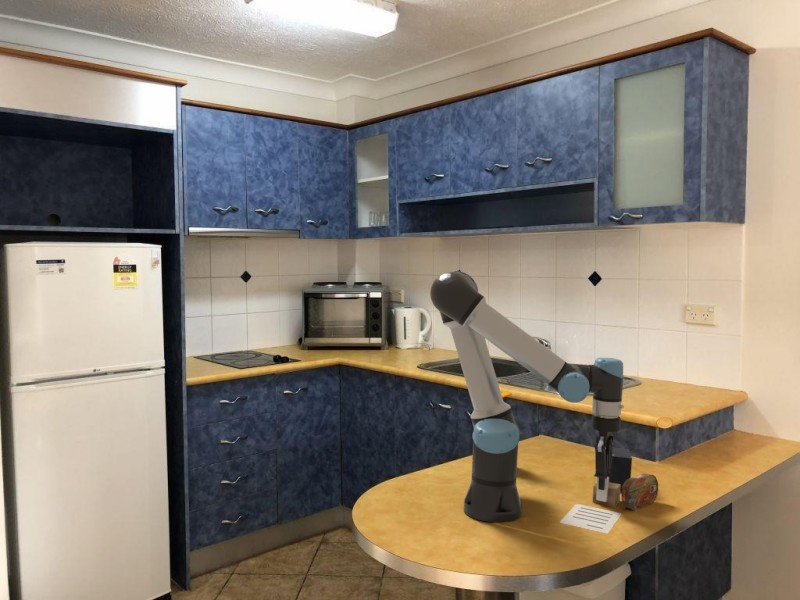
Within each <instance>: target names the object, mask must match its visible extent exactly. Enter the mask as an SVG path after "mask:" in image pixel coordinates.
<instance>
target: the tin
mask: <svg viewBox="0 0 800 600" xmlns="http://www.w3.org/2000/svg"><path fill="white" fill-rule="evenodd" d="M658 492H659V482H658V479H657V477H656V476H655V475H654V474H650V473H649V474H648V473H641V474H638V475H635V476H631V478H629V479H627V480H626V481H625V482H624V484H623V487H622V491H621V503H622V505H623V507H624V508H626V509H629V510H631V511H632V510H633V511H637V510H639V509H641V508H644V507H647V506H650V505H653V504H654V502H655V501H656V500H657V497H658Z"/></svg>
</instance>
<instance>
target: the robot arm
mask: <svg viewBox="0 0 800 600" xmlns="http://www.w3.org/2000/svg"><path fill="white" fill-rule="evenodd" d="M429 295H430V300H431V303H432V305H433V306H434V307H435V308H436V310H437V311H439V314H440V317H441V321H442V324H443V325H445V326H446V327H447V328H449V330H450V332H451V335H452V339H453V341H454V342H453V343H454V346H455V349H456V352H457V356H458V360H459V363H460V366H461V370H462V372H463V376H464V380H465V384H466V387H467V390H468V394H469V397H470V400H471V404H472V407H473V411H472V413H471V414H470V420H471V423H472V426H473V432H472V441H473V442H472V458H471V459H472V460H471V461H472V462H471V463H472V464H471V478H470V479H471V480H470V484H469V487H468V489H467V491H466V495H465V497H464V500H463V512H464V513H465V514H466V515H467V516H468V517H470V518H473V519H475V520H478V521H482V522H488V523H497V524H498V523H499V524H500V523H502V524H503V523H509V522H510V523H511V522H514V521H518V520H519V519H520V518H521V517H522V514H523V513H522V511H523V507H522V501H521V499H520V494H519V491H518V487H517V475H518V473H517V472H518V454H519V443H520V438H521V436H520V435H521V434H520V433H521V432H520V427H519V425H518V423H517V421H516V420H515V418H514V415H513V410H512V407H511V405H510V404H508V403H507V402H505V401H504V398H502V395H501V393H502V391H501V389H500V385H499V381H498V378H497V374H496V372H495V367H494V365H493V361H492V358H491V353H490V351H489V348H488V344H487V342H486V340H487V341H488V342H490V343H491V344H492V345H494V346H495V347H497V348H498V349H499V350H500V351H502V352H503V353H504V354H506V355H507V356H509V357H510V358H511V359H513V360H514V361H515V362H517V363H518V364H519V365H520V366H522V367H523V368H525V369H526V370H528V371H529V372H530V373H532V374H533V375H534V376H536V377H537V378H539V379H540V380H541V381H542V382H544V383H545V384H546V385H548V388H549V389H550V390H554V391H556V392H557V393H558V395H560V397H561V398H562V399H563V400H565V401H566V402H568V403H571V404H576V403H577V404H578V403H581V402H582V401H584V400H585V399H586V398H587V397H588V395H589V393H593V394H592V407H591V409H592V410H591V411H592V415H591V428H592V429H593V430H596V431H597V432H598V433H597V434H598V435H597V436H596V439H595V444H594V454H595V473H594V475H593V476H594V477H595V478H597V479H596V483H597V493H596V500H599V501H604V502H607V499H608V481H609V477H607V476H610V477H612V474H610V473H609V472H611V463H612V454H613V447H614V444H615V441H616V440H615V439H616V438H615V436H614V435H613V433H617V432H620V431H621V422H622V421H621V420H622V419H621V415H622V409H624V405H623V404H622V401H623V387H624V386H623V385H624V362H623V361H622V360H621V359H618V358H613V357H597V358H595V360H594V362H593V364H584V363H583V364H582V363H581V364H580V363H568V362H567V361H566V360H564V359H563V358H562V357H560V356H559V355H557V353H555V352H553V351H552V350H550V349H549V348H548V347H547V346H545V345H544V344H542V343H541V342H540V341H538V340H537V339H535V338H534V336H532V335H530V334H529V333H528V332H526V331H524V330H523V329H522V328H520V327H519V326H518V325H517V324H515V323H514V322H512V321H511V320H510V319H509V318H507V317H505V316H504V315H503V314H502V313H501V312H499V311H497V310H496V309H495V308H493V307H492V306H491V305H489V304H488V303H487V300H486V297H485V296H484V295H482V294H481V293H480V292H479V287H478V285H477V283H476V281H475V280H474V278H473V277H472V276H470V275H469V274H468V273H466V272H464V271H459V270H454V271H447V272H444V273H441V274H440V275H439V276H437V277H436V278H435V279H434V281H433V282H432V284H431V287H430V293H429Z"/></svg>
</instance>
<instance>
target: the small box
mask: <svg viewBox="0 0 800 600" xmlns="http://www.w3.org/2000/svg"><path fill="white" fill-rule="evenodd" d="M632 464H633V457H632V456H631V453H630V452H629V449H628V448H623V447H622V448H621V447H614V446H613V454H612V463H611V472H609V473H610V474H612V477H610V476H607V477H609V481H608V482H611V483H616V484H621V487H620V492H622V487H623V484H624V482H625V481H626V480H627V479H629V478H632V466H633V465H632Z"/></svg>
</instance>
